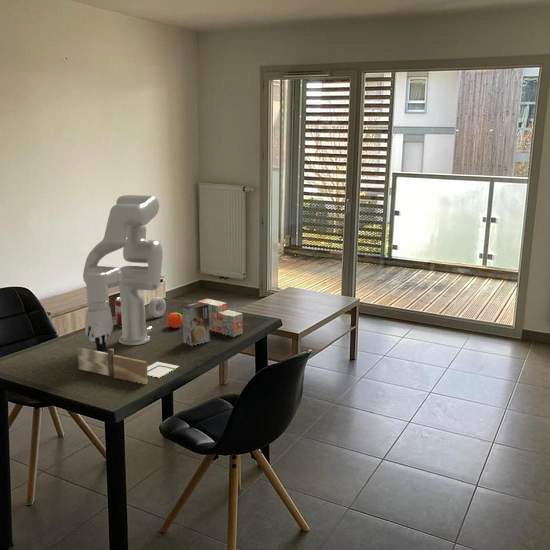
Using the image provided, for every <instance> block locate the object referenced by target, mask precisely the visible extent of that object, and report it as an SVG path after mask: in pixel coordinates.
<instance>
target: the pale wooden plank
mask: <svg viewBox="0 0 550 550" xmlns="http://www.w3.org/2000/svg"><path fill="white" fill-rule="evenodd" d="M77 359H78V361H77V363H78V369H79V370H81V371H86V372H91V373H94V374H100V375H104V376H108V377H110V375H109V360H108V352H106V353H105V352H100V351H97V350H95V349H89V348H86V347H80V346H78V347H77Z"/></svg>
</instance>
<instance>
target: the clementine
mask: <svg viewBox="0 0 550 550" xmlns="http://www.w3.org/2000/svg"><path fill="white" fill-rule="evenodd" d="M166 324H167V326H169V328H172V329H178V328H180V326H182V325H183V318H182V314H181V313H179V312H176V311H175V312H171V313H169V314H168V315H167V317H166Z"/></svg>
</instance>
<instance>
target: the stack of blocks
mask: <svg viewBox="0 0 550 550" xmlns="http://www.w3.org/2000/svg"><path fill="white" fill-rule="evenodd" d="M197 302H202V303H205V304H208V308H209V330H212V331H215V332H214V333H216V332H219V333H218V334H220V333H222V334H221V335H224V334H225V335H224V336H227V335H229V336H228V337H231V338H235V337H236V336H237V335H238V336H240V334H241V335H243V334H242V333H243V332H244V331H243V327H244V323H243V318H244V317H243V316H244V313H242V312H240V311H239V312H238V311H234V310H230V309H228V303H227V302H224V301H220V300H215V299H212V298H211V299H210V298H205V299H202V300H198V301H197ZM212 331H211V332H212Z"/></svg>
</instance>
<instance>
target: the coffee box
mask: <svg viewBox="0 0 550 550" xmlns="http://www.w3.org/2000/svg"><path fill="white" fill-rule="evenodd" d="M181 313H182V314H181V315H182V319H183V321H182V331H183V332H182V335H183V336H182V337H183V343H184V344H186V343H187V344H186V345H188V344H189V345H188V346H190V345H191V346H190V347H194V346H193V345H195V346H198V345H197V344H199V345H202V344H206V343H209V341H211V340H210V339H211V337H210V336H211V335H210V334H211V333H210V331H209V308H208V304H205V303H202V302H198V301H197V302H192V303H187V304H183V305H181ZM205 342H206V343H205ZM201 343H202V344H201Z"/></svg>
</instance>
